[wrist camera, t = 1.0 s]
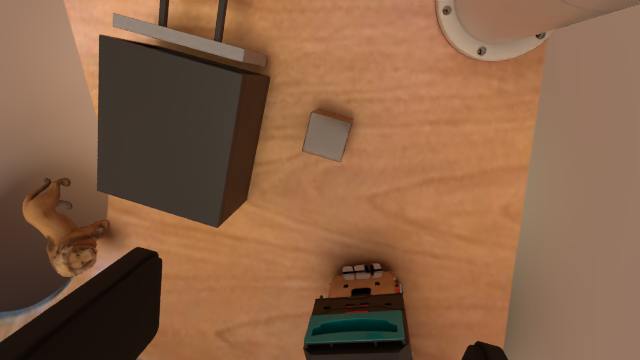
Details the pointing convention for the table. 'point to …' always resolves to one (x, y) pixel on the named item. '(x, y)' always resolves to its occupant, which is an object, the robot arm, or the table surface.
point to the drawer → (190, 36)
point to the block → (327, 134)
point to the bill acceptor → (359, 318)
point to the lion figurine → (62, 230)
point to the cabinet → (176, 130)
